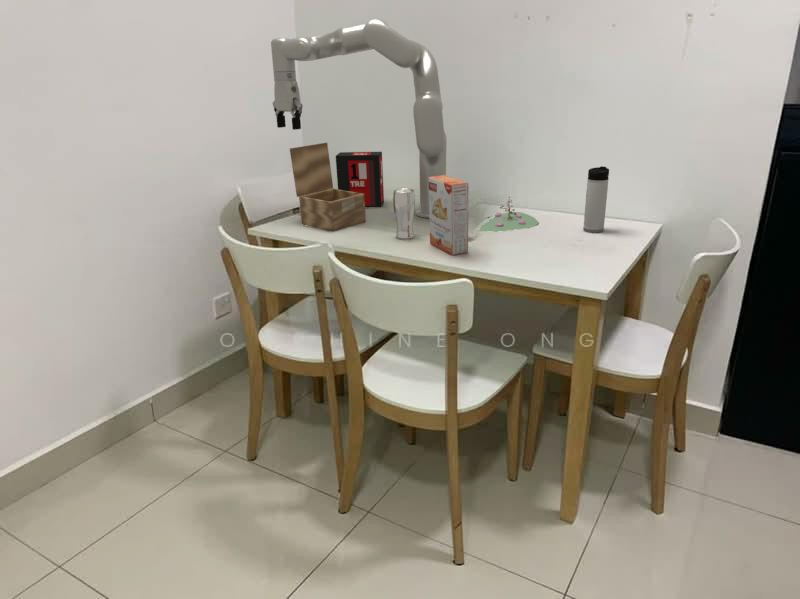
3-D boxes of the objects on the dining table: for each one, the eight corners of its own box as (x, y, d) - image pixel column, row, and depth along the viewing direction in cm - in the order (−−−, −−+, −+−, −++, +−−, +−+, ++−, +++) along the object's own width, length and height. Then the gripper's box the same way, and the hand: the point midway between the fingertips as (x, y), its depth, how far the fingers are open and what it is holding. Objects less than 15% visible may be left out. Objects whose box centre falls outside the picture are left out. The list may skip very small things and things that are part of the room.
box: (366, 221, 215) (364, 193, 212) (332, 231, 205) (330, 202, 201) (335, 215, 226) (333, 188, 222) (301, 224, 215) (299, 196, 211)
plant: (514, 238, 193) (515, 210, 189) (459, 229, 205) (459, 203, 201) (548, 220, 211) (549, 195, 208) (495, 213, 223) (496, 189, 220)
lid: (327, 142, 217) (325, 142, 218) (291, 148, 206) (289, 148, 206) (333, 188, 222) (331, 188, 223) (298, 196, 211) (296, 196, 212)
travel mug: (607, 229, 196) (613, 167, 189) (597, 234, 192) (603, 170, 185) (589, 226, 200) (594, 165, 193) (579, 231, 196) (584, 168, 189)
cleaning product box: (339, 208, 237) (335, 155, 229) (343, 202, 245) (340, 152, 238) (381, 207, 235) (378, 155, 228) (384, 202, 243) (381, 151, 236)
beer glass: (391, 238, 195) (389, 192, 189) (398, 233, 201) (397, 187, 195) (411, 240, 192) (410, 193, 187) (418, 234, 198) (417, 188, 193)
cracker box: (428, 244, 188) (427, 176, 180) (445, 241, 190) (445, 174, 182) (450, 256, 176) (450, 184, 168) (468, 253, 178) (469, 181, 171)
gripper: (308, 77, 206) (311, 129, 213) (280, 76, 218) (284, 125, 225) (289, 77, 202) (293, 131, 208) (262, 77, 213) (267, 127, 220)
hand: (289, 128), depth 216 cm, fingers open, 9 cm apart
